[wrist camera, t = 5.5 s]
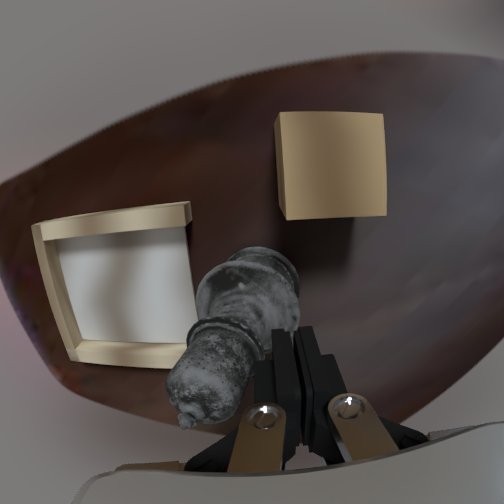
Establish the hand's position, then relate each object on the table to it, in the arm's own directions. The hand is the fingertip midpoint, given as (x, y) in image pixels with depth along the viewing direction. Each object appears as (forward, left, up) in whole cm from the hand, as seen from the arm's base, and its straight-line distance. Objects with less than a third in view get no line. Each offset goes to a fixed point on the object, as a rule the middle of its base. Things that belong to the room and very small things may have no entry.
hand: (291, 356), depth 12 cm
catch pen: (+11, 0, -8) cm, 14 cm away
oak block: (-3, -8, -9) cm, 12 cm away
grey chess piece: (+1, 0, -8) cm, 8 cm away
